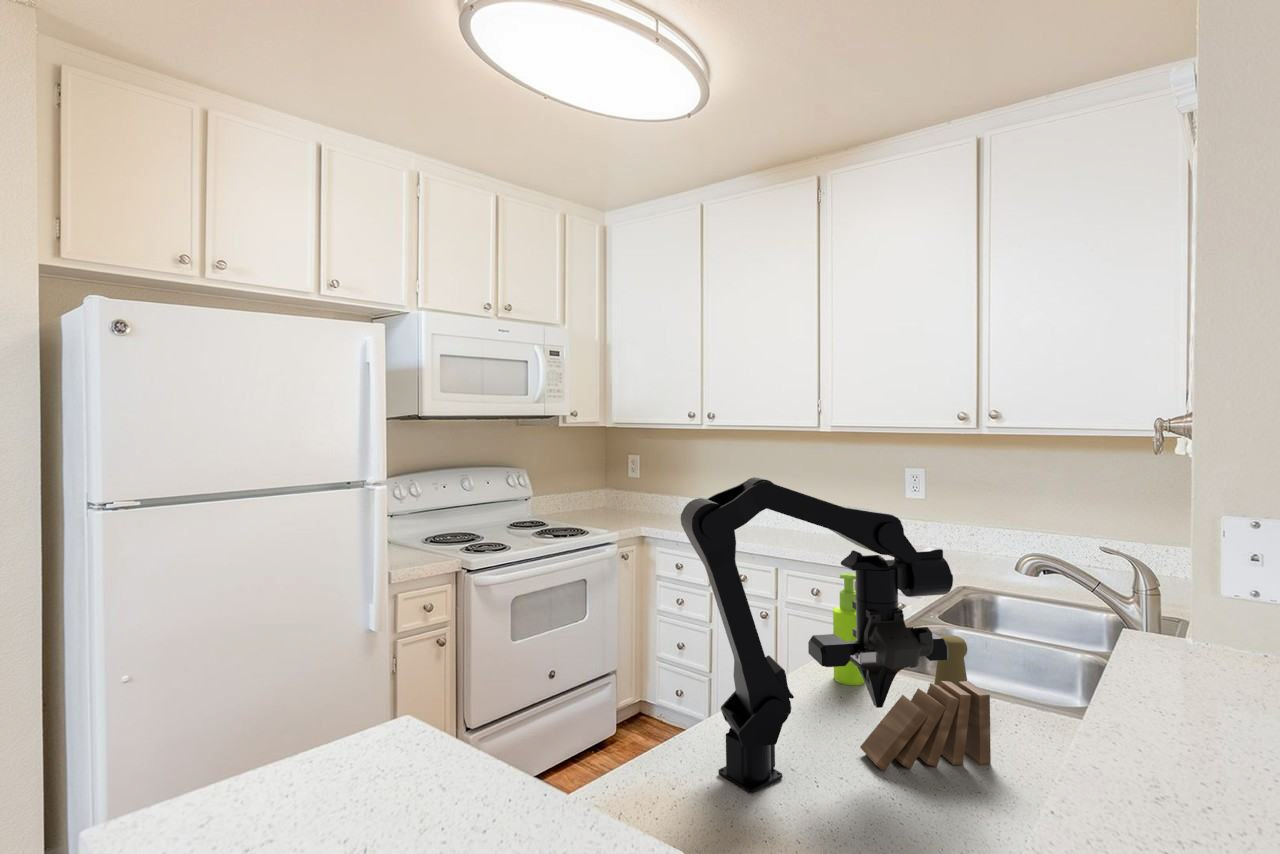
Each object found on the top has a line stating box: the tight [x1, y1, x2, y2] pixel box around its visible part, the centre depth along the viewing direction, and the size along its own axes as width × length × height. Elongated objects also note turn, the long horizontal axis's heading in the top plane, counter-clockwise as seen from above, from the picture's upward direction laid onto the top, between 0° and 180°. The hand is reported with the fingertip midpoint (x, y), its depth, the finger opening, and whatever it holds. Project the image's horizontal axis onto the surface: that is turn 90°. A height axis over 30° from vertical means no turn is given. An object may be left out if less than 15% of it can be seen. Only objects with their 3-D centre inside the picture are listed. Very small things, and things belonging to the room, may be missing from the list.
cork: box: [933, 634, 968, 687], centre depth 117 cm, size 6×6×11 cm
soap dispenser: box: [832, 572, 866, 686], centre depth 126 cm, size 6×7×20 cm
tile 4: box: [940, 681, 971, 766], centre depth 97 cm, size 2×5×10 cm, turn 6°
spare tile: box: [958, 680, 992, 767], centre depth 97 cm, size 2×5×10 cm, turn 7°
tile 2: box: [894, 688, 946, 770], centre depth 97 cm, size 2×5×10 cm
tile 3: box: [918, 682, 960, 768], centre depth 97 cm, size 2×5×10 cm, turn 6°
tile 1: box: [859, 694, 928, 772], centre depth 96 cm, size 2×5×10 cm
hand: (878, 706), depth 96 cm, fingers closed
